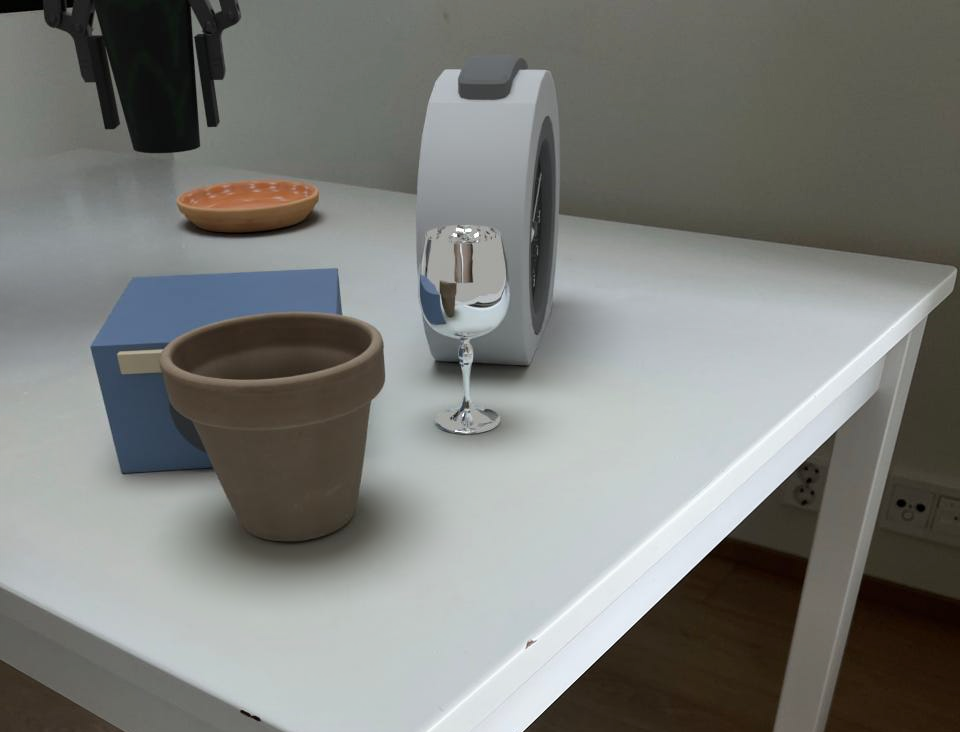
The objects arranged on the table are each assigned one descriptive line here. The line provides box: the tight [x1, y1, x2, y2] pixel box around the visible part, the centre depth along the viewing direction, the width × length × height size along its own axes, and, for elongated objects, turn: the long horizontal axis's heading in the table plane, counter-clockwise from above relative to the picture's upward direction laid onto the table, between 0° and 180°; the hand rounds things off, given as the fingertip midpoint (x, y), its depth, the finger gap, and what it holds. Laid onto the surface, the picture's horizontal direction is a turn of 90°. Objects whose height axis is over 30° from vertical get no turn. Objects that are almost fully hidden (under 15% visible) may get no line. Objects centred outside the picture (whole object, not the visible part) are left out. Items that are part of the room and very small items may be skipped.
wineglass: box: [417, 225, 510, 435], centre depth 64 cm, size 6×6×12 cm
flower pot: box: [159, 312, 386, 542], centre depth 54 cm, size 12×11×10 cm
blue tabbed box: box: [89, 267, 343, 474], centre depth 65 cm, size 14×14×8 cm
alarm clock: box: [415, 53, 561, 366], centre depth 76 cm, size 21×8×20 cm, turn 170°
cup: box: [93, 0, 201, 154], centre depth 82 cm, size 8×8×12 cm
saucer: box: [176, 179, 320, 234], centre depth 114 cm, size 16×16×3 cm
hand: (163, 125), depth 84 cm, fingers closed on cup, 8 cm apart
